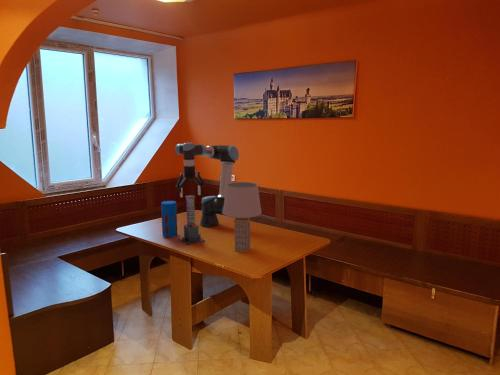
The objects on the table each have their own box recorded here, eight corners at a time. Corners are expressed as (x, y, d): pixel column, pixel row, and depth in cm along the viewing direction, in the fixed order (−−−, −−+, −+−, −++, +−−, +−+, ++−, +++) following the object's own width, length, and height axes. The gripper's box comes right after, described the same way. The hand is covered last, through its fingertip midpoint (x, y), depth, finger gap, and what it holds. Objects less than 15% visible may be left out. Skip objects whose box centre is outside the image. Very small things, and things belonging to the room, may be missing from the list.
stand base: (196, 236, 286) (195, 219, 284) (204, 241, 275) (204, 223, 272) (178, 239, 278) (177, 222, 276) (186, 245, 267) (185, 226, 265)
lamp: (264, 244, 267) (265, 182, 259) (257, 257, 243) (257, 188, 235) (229, 242, 272) (228, 180, 264) (218, 254, 248) (217, 187, 240)
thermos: (174, 238, 282) (172, 204, 278) (160, 237, 284) (158, 203, 280) (179, 233, 293) (178, 201, 288) (166, 232, 295) (164, 200, 290)
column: (192, 226, 278) (192, 195, 274) (196, 228, 274) (195, 196, 270) (186, 227, 276) (185, 196, 271) (189, 229, 271) (188, 197, 267)
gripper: (203, 163, 277) (204, 192, 281) (170, 166, 263) (171, 197, 267) (208, 164, 271) (209, 194, 275) (174, 167, 257) (175, 199, 261)
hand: (190, 195), depth 271 cm, fingers open, 13 cm apart
